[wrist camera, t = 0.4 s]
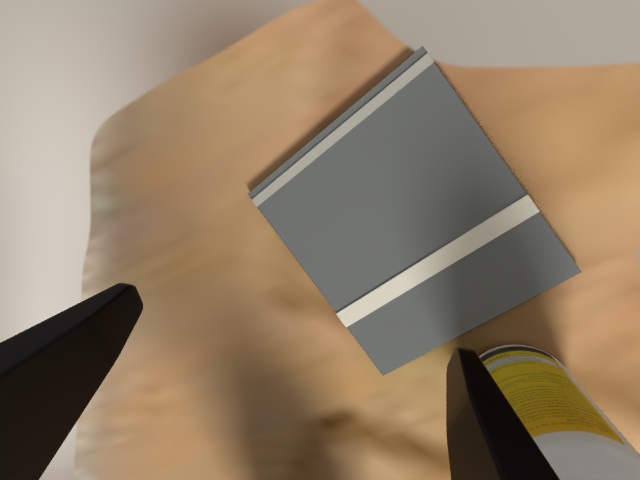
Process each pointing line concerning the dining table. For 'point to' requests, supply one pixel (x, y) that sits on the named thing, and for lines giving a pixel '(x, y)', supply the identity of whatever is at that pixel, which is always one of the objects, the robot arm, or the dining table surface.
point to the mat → (411, 219)
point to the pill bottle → (561, 416)
